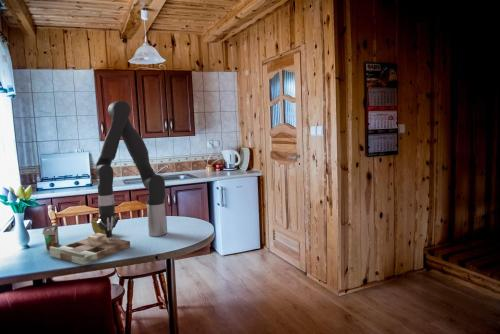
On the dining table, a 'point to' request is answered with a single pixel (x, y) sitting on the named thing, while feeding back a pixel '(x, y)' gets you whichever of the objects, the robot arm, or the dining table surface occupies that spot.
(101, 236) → the block
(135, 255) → the dining table surface
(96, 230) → the flower pot
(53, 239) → the food container
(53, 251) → the wooden puzzle tray
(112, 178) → the robot arm
